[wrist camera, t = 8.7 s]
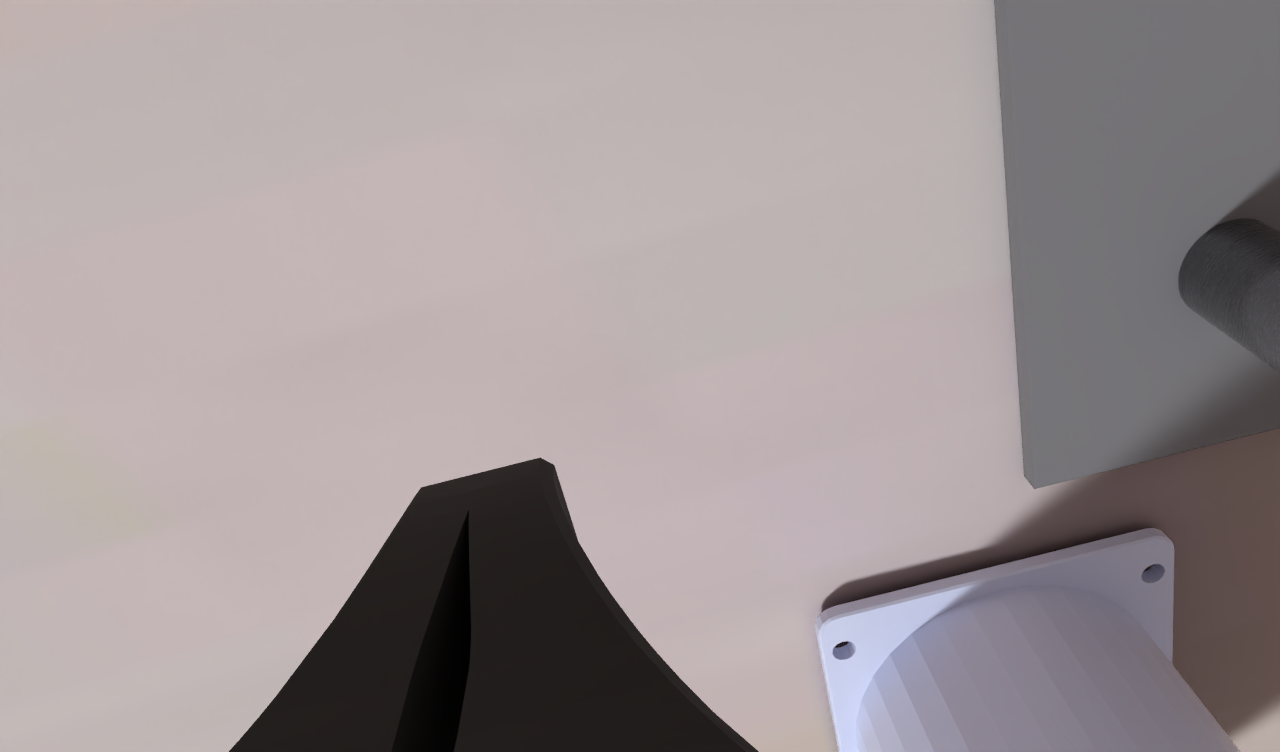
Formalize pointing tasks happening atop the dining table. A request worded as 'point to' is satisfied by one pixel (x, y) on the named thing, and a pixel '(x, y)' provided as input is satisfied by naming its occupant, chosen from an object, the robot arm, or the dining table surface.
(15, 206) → the dining table surface
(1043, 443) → the mat
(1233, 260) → the hinge post
